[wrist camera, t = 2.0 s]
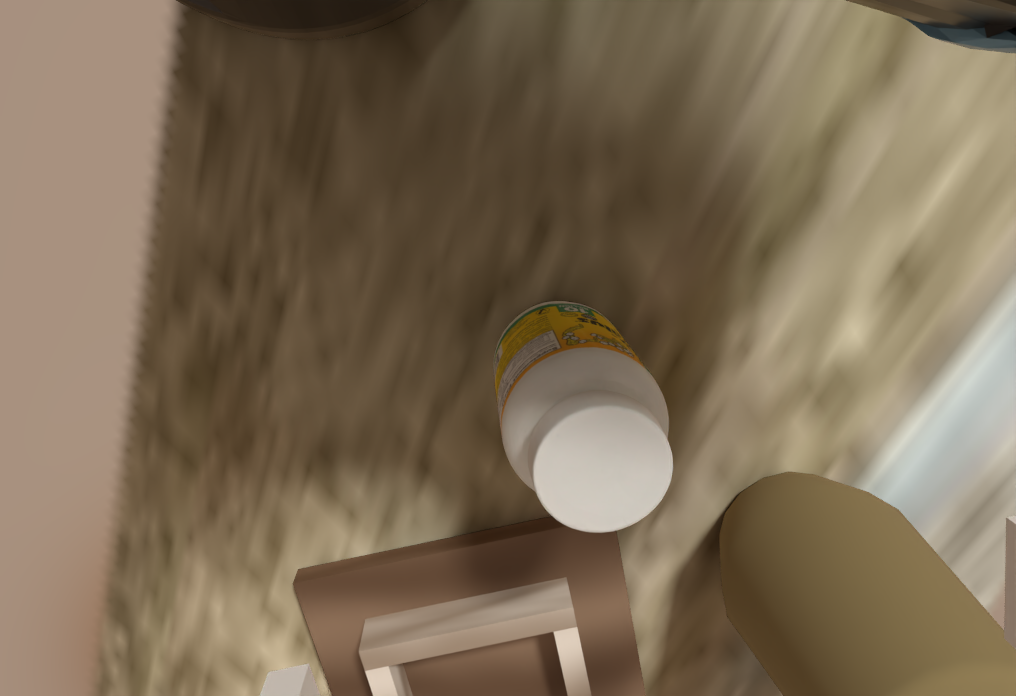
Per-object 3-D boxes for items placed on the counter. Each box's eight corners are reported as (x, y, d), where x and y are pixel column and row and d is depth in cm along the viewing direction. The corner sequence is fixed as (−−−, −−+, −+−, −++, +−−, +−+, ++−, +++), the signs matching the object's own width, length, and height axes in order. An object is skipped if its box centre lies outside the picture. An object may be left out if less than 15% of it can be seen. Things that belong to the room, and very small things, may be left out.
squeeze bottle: (728, 628, 33) (1010, 1168, 16) (667, 493, 31) (922, 957, 13) (889, 561, 32) (1365, 1048, 15) (840, 417, 30) (1339, 803, 13)
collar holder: (298, 569, 31) (281, 614, 28) (609, 504, 31) (623, 542, 28) (379, 801, 35) (371, 861, 32) (652, 745, 35) (668, 800, 32)
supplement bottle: (465, 358, 28) (465, 468, 19) (564, 269, 27) (614, 340, 18) (552, 445, 30) (591, 587, 20) (650, 363, 29) (735, 473, 20)
